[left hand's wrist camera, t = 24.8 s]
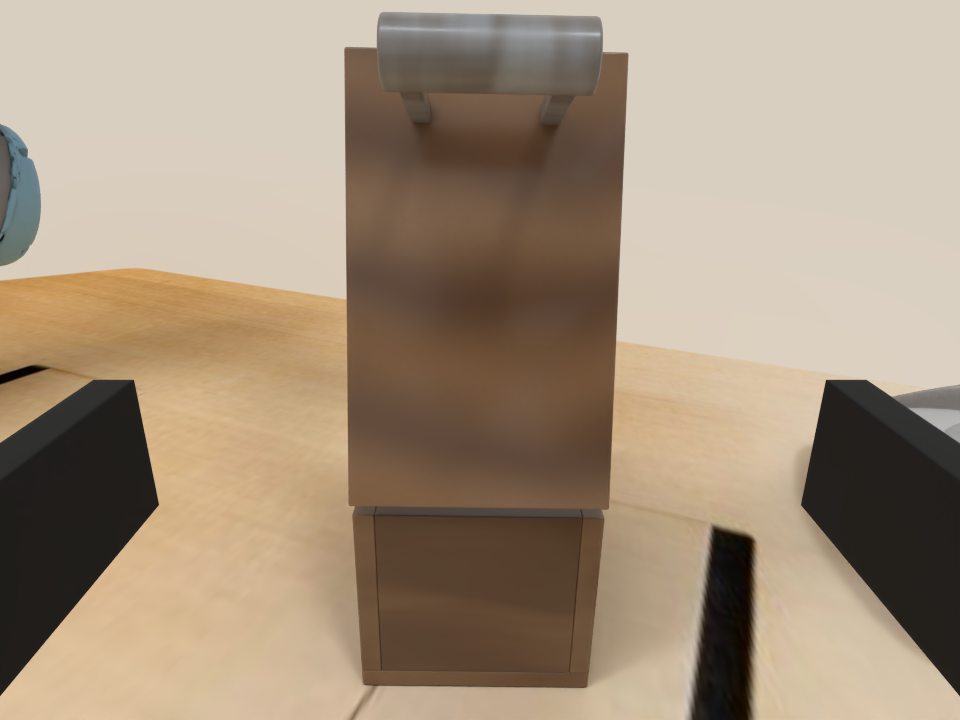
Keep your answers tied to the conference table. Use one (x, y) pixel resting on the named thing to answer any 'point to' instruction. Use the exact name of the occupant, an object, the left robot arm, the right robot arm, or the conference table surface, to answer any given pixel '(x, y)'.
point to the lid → (483, 260)
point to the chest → (476, 595)
